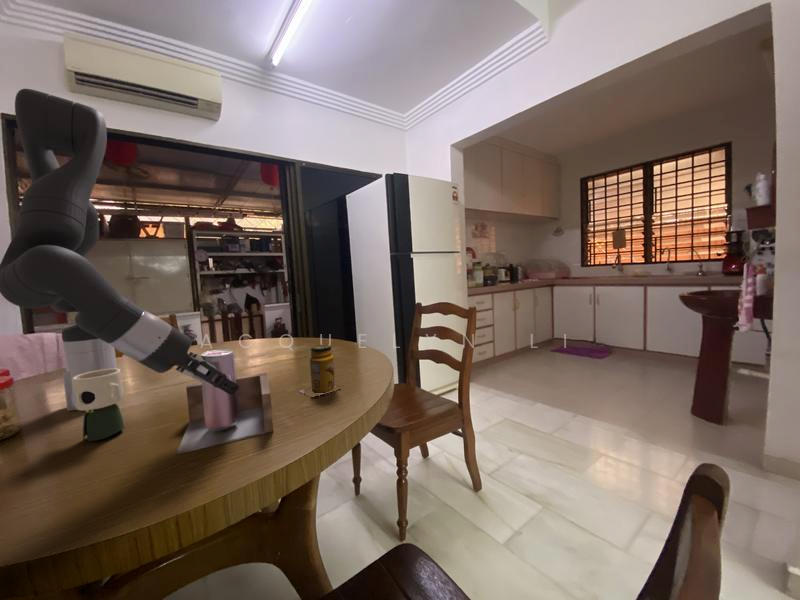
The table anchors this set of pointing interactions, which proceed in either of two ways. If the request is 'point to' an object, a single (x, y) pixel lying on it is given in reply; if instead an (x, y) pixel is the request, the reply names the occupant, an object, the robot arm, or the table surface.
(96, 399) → the character mug
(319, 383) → the condiment
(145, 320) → the robot arm
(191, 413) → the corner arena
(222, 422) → the beverage can
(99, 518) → the table surface
